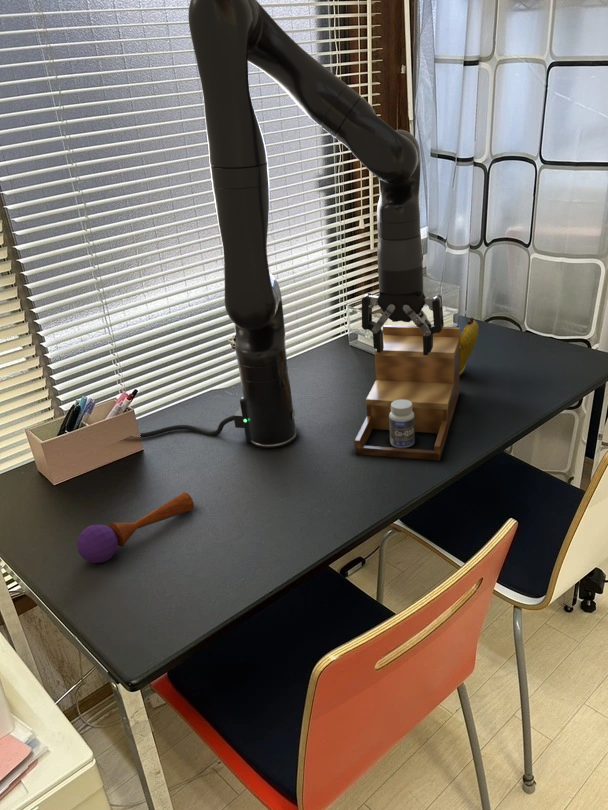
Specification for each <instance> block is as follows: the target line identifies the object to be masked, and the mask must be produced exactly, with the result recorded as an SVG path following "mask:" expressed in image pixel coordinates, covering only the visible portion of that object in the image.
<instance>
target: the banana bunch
mask: <svg viewBox="0 0 608 810" xmlns="http://www.w3.org/2000/svg"><path fill="white" fill-rule="evenodd" d="M479 328H480V327H479V324H478V322H477V321H476V320H475V319H474V317H473V316H471V317H470V318H469V320H468V321H467V323H466V325H465V326H464V328H463V329H462V331H461V332H460V369H459V377H461V376H462V374H463V373H464V372H465V369H466V367H467V362H468V360H469V358H470V356H471V355H472V352H473V350H474V347H475V345H476V343H477V340H478V336H479V330H480V329H479Z"/></svg>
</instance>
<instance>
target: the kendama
mask: <svg viewBox="0 0 608 810" xmlns="http://www.w3.org/2000/svg"><path fill="white" fill-rule="evenodd" d="M194 508H195V504H194V500H193V498H192V496H191V495H190V494H189V493H188V492H186V491H183V492H182V493H180V494H178V495H177V496H175V497H174V498H172V499H170V500H169V501H167V502H165V503H163V504H162V505H160V506H159V507H157V508H156V509H154V510H152V511H151V512H149V513H148V514H145V515H144V516H142V517H141V518H139V519H138V520H136V521H135V522H109V524H108V526H107V525H105V524H91V525H89V526H87V527H85V528H84V529H83V530H82V531H81V532H80V534H79V535H78V538H77V541H76V548H77V552H78V554H79V555H80V556H81V557H82V559H83V560H85V561H87V562H90V563H92V564H103V563H104V562H105V563H106V562H107V561H108V560H110V559H111V558H112V557H113V556H114V555H115V553H116V552H117V549H118V547H120V548H123V547H124V546H125V544H126V543H127V542H128V540H129V539H130V538H131V537H132V536H133V534H134V533H135V532H136V531H137V530H138V529H141V528H143V527H147V526H149V525H152V524H155V523H158V522H161V521H164V520H167V519H170V518H173V517H176V516H179V515H182V514H184V513H187V512H190V511H193V510H194Z"/></svg>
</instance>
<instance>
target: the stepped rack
mask: <svg viewBox="0 0 608 810" xmlns="http://www.w3.org/2000/svg"><path fill="white" fill-rule="evenodd" d="M382 330H383V343H384V349H383V351H382V352H381V353H377V349H374V364H375V366H374V367H375V381H374V382H373V385H372V387H371V389H370V391H369V393H368V395H367V396H366V399H365V405H366V417H365V418H364V420H363V423H362V425H361V427H360V428H359V431H358V433H357V435H356V437H355V439H354V453H355V455H360V456H361V455H363V456H376V457H388V458H400V459H401V458H402V459H415V460H430V461H440V460H441V457H442V454H443V451H444V447H445V444H446V440H447V437H448V434H449V430H450V428H451V427H450V426H451V423H452V419H453V416H454V412H455V409H456V405H457V402H458V399H459V396H460V376H459V369H460V336H461V335H460V334H461V327H459V326H457V327H456V326H443V328H442V330H441V332H440V333H434V334H433V348H432V350H431V352H429V354H428V355H423V335H424V333H423V332H422V330H421V329H420V328H419V327H417V326H416V325H394V324H393V325H392V324H391V325H390V324H384V325H383V326H382ZM401 399H403V400H409V401H411V402H412V411H413V412H414V423H415V424H414V425H415V433H426V434H428V433H429V434H437V437H436V440H435V443H434V446H433V450H432V449H416V448H396V447H391V446H390V447H389V446H376V445H375V446H374V445H366V444H367V441H368V439H369V437H370V436H371V433H372V431H373V430H381V431H382V430H383V431H390V422H389V415H390V412H391V403H392V402H393V401H395V400H401Z"/></svg>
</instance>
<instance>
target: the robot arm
mask: <svg viewBox="0 0 608 810" xmlns="http://www.w3.org/2000/svg"><path fill="white" fill-rule="evenodd" d="M187 16H188V18H187V19H188V27H189V32H190V33H189V34H190V38H191V42H192V47H193V51H194V56H195V60H196V66H197V70H198V75H199V81H200V85H201V90H202V97H203V107H204V108H203V109H204V119H205V121H204V122H205V129H206V130H205V131H206V138H207V146H208V158H209V159H208V160H209V168H210V178H211V185H212V192H213V200H214V206H215V211H216V217H217V224H218V229H219V234H220V239H221V245H222V253H223V270H224V271H223V274H224V275H223V276H224V308H225V311H226V314H227V316H228V317H229V319H230V320H231V322H232V323H233V324H234V327H235V346H234V347H235V355H236V361H237V367H238V374H239V380H240V385H241V391H242V396H241V398H240V399H239V408H238V409H237V411H236V412H235V413H234V414H233V415H230V416H228V417H226V418H224V419H222V420H221V421H220V422H219V424H218V426H217V428H216V429H215V430H211V431H210V430H205V429H202V428H200V427H197V426H194V425H189V424H188V425H187V424H177V425H171V426H166V427H165V426H164V427H162V428H159V429H155V430H151V431H146V432H139V433H140V434H141V435H140V436H141V438H142V439H143V438H148V437H154V436H158V435H161V434H164V433H168V432H172V431H173V432H174V431H180V430H187V431H192V432H195V433H198V434H201V435H205V436H210V437H212V436H213V437H215V436H218V435H220V434H221V433H222V431H223V429H224V427H225V425H227V424H229V423H230V422H234V427H235V428H236V429H244V434H245V441H246V443H247V444H252V445H253V446H255V447H257V448H260V449H276V448H281V447H284V446H286V445H289V444H291V443H292V442H294V440H296V438H297V435H298V433H297V429H296V420H295V415H296V411H295V409H294V406H293V405H294V404H293V396H292V389H291V379H290V373H289V364H288V357H287V349H286V348H287V347H286V327H285V318H284V317H285V316H284V307H283V299H282V293H281V287H280V285H279V282H278V281H277V279H276V278H275V276H274V275H273V274H272V273H270V267H269V261H268V260H269V259H268V251H267V250H268V231H269V220H270V219H269V218H270V195H271V194H270V176H269V164H268V155H267V147H266V144H265V140H264V136H263V132H262V129H261V126H260V123H259V120H258V116H257V114H256V111H255V108H254V104H253V100H252V96H251V89H250V82H249V81H250V79H249V64H251V65H253V66H255V67H256V68H257V69H259V70H261V71H262V72H263V73H265V74H266V75H267V76H268V77H270V78H271V79H272V80H273V81H275V83H277V84H278V85H279V86H280V87H281V89H282V90H283V91H285V93H286V94H287V95H288V96H289V97H290V98H291V99H292V100H293V101H294V103H295V104H296V105H297V106H298V107H299V108H300V109H301V110H302V111H303V112H304V113H305V115H307V116H308V118H309V119H311V120H312V121H313V122H314V123H316V125H318V126H319V127H321V129H323V130H324V131H326V133H328V134H329V135H330V136H332V138H335V139H336V140H337V141H338V142H340V143H341V144H342V145H344V146H345V147H346V148H347V149H348V150H349V151H350V152H351V153H352V155H353V156H354V157H355V158H356V159H357V160H358V161H359V162H360V163H361V165H363V166H364V168H366V169H367V170H368V171H369V172H370V173H371V174H372V175H374V176H375V177H376V178H378V190H379V199H378V202H377V207H376V208H377V209H376V222H377V223H376V225H377V226H376V227H377V247H376V253H377V254H376V255H377V273H378V274H377V276H378V291H379V292H378V293H379V294H378V295H372V293H370V292H367V293H366V294H365V295H363V297H362V298H361V328H362V329H363V330H365V331H369V332H371V333H372V344H373V345H372V346H373V349H374V350H375V349H377V353H381V352H382V351H383V349H384V343H383V329H382V328H383V326H384V325H385V324H386V322H387V321H388V319H389V320H390V321H392V323H393V322H394V323H398V322H404V323H410V322H413V323H414V326H417V327H419V328H420V329H421V330H422V332H423V333H424V335H423V355H428V354H429V352H431V350H432V348H433V334H434V333H440V332H441V330H442V328H443V327H445V326H444V325H445V324H444V323H445V322H444V308H443V307H444V306H443V296H441V295H440V294H436V295H435V296H428V297H427V296H426V295H425V293H424V265H423V263H424V262H423V261H424V254H423V242H422V235H421V210H420V208H421V207H420V185H421V169H422V167H421V165H422V163H421V162H422V160H421V159H422V158H421V157H422V156H421V148H420V144H419V142H418V140H417V138H416V137H415V136H414V135H413V134H412V133H410V132H409V131H407V130H404V129H394V128H393V127H392V126H390V125H389V124H388V123H387V122H386V121H384V120H383V119H382V118H381V117H379V116H378V115H377V113H376V112H375V109H374V108H373V106H372V105H371V103H369V102H368V101H367V100H366V99H365V98H364V97H362V95H360V94H359V93H358V92H356V90H355V89H353V88H352V87H350V85H349V84H347V83H346V82H345V81H343V80H342V79H341V78H340V77H338V76H337V75H335V74H334V73H333V72H332V71H331V70H330V69H328V68H327V67H325V66H324V65H323V64H322V63H321V62H319V61H318V60H317V59H316V58H314V57H313V56H312V55H310V54H309V53H308V52H307V51H306V50H305V49H303V48H302V47H301V46H300V45H299V43H297V42H296V41H295V40H294V39H293V38H292V37H291V36H290V35H289V34H288V33H286V31H285V30H283V29H282V27H281V26H280V25H279V24H278V23H277V22H276V21H275V20H274V19H273V17H272V16H271V15H270V14H269V13H268V11H267V10H265V8H264V7H263V5H261V4H260V3H259V1H258V0H190V1H189V6H188V15H187ZM376 304H377V305H378V307H379V308H380V309H381V311H382V312H383V313H382V314H381V316H380V317H379V318H378V320H377V321H373V308H375V306H376ZM425 305H427V306H428V309H429V310H430V311H432V319H433V324H432V323H431V321H430V320H429V319H428V316H427V314H426V313H425V312H424V310H423V308H424V306H425ZM141 438H140V439H141Z"/></svg>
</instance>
